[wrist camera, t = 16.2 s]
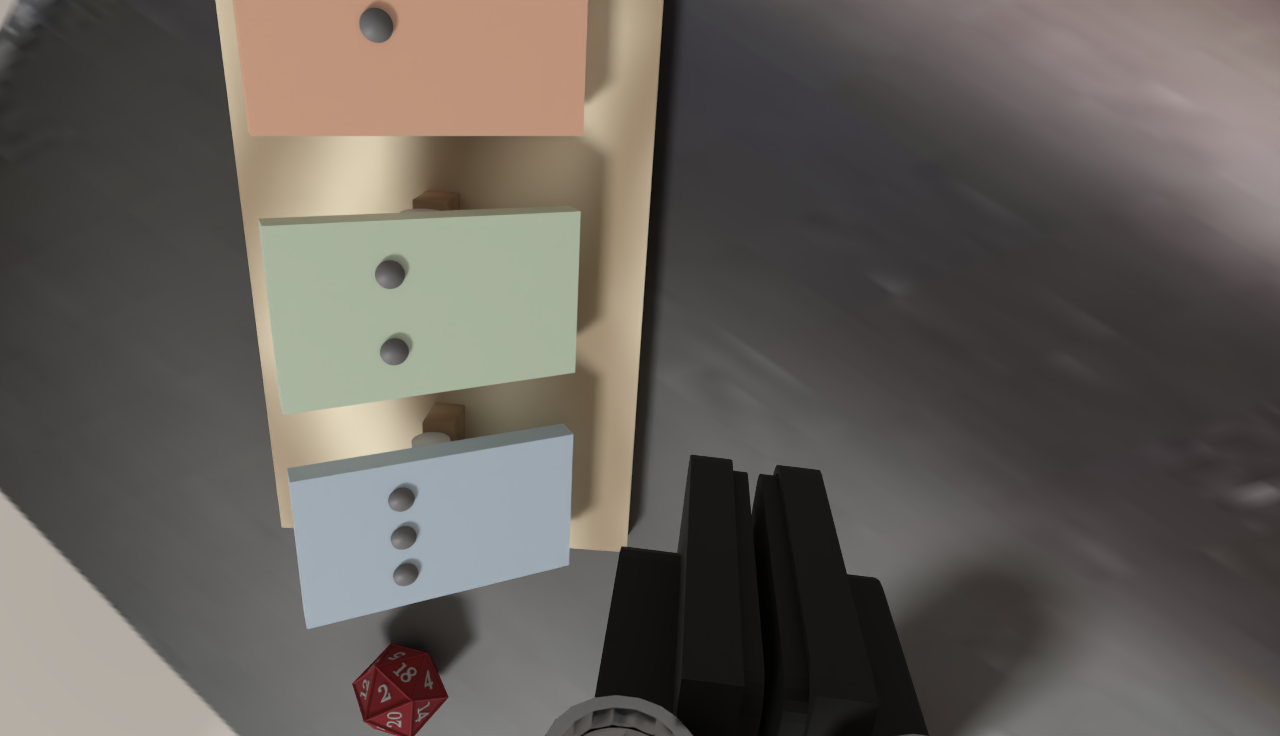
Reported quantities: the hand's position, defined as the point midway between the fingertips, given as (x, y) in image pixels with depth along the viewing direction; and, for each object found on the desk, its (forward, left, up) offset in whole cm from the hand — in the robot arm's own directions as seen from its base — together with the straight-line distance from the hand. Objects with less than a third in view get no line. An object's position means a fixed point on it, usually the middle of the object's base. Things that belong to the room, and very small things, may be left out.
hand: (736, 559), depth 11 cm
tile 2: (+9, +3, -18) cm, 20 cm away
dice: (+12, +23, -22) cm, 33 cm away
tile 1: (+9, -6, -18) cm, 21 cm away
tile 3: (+9, +11, -18) cm, 23 cm away
